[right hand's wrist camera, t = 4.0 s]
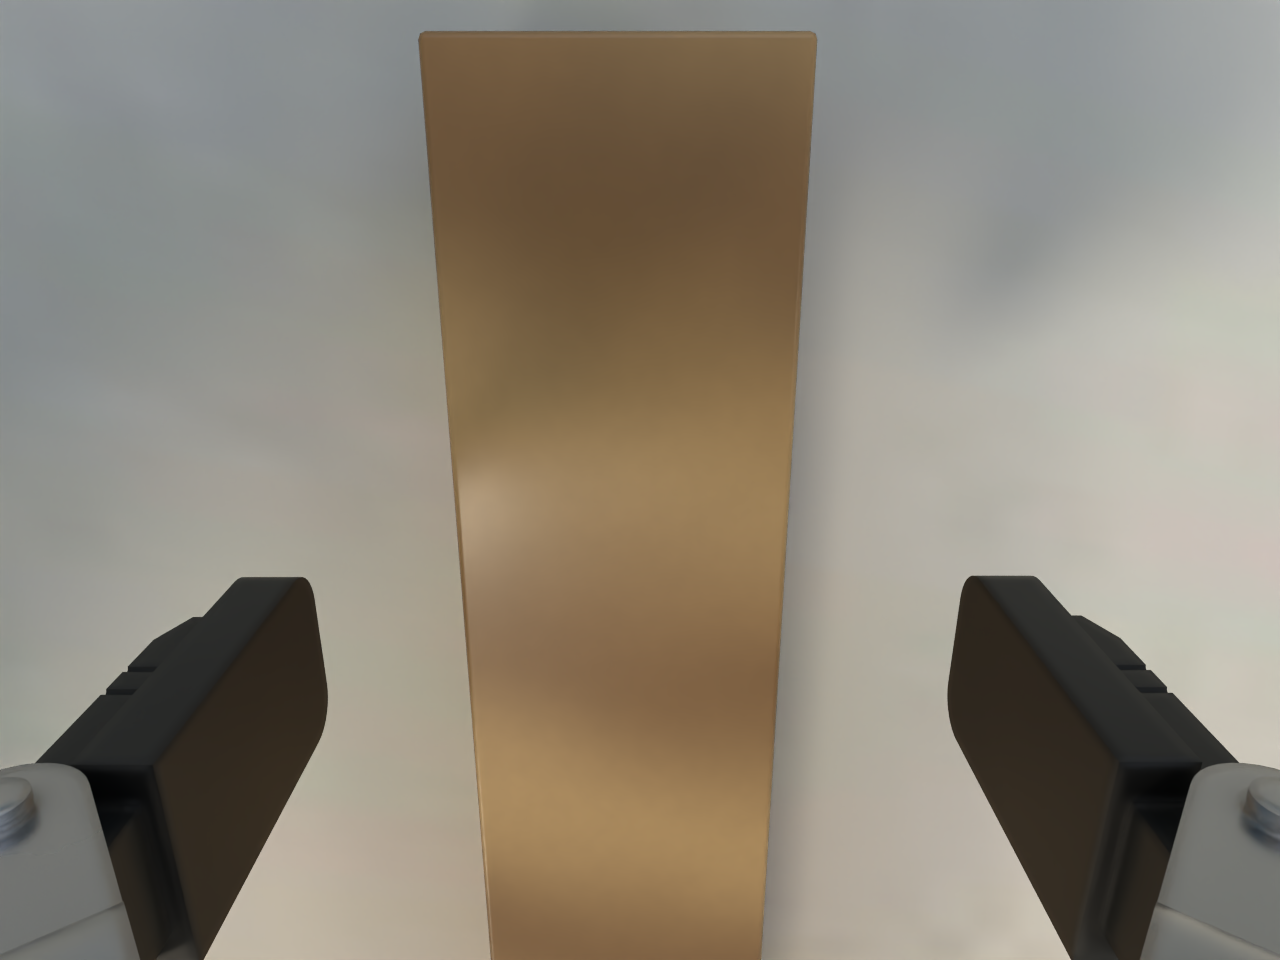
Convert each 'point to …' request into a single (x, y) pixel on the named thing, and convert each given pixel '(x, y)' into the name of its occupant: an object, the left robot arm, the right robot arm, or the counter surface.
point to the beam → (621, 465)
